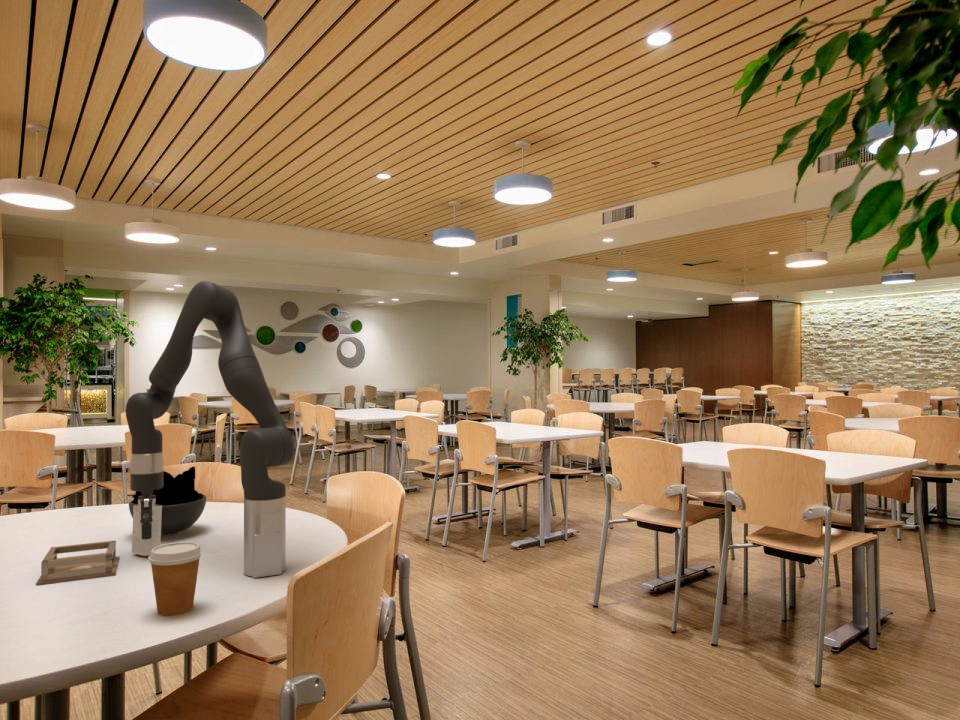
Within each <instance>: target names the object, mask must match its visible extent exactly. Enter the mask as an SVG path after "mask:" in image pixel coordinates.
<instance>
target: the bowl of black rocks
mask: <svg viewBox="0 0 960 720" xmlns="http://www.w3.org/2000/svg"><path fill="white" fill-rule="evenodd" d="M163 475H164V476H163V488H161V489H158V490H153V495H156V503H155V504H157V505H161V506H162V519H161V536H173V535H177V534H179V533H181V532H184V531H186V530H188V529H189V528H190V527H192V526H193V525H194V524H195V523H196V522H197V521H199V518H200V517H201V516H202V514H203V512H204V509H205V508H206V504H207V495H205V494H203V493H200V492H198V490H196V488H195V485H196V484H195V483H196V482H195V480H196V467H195V466H191V467H189V468H188V469H187V470H185V471H182V473H178V474H177V475H176V476H175V477H174V475H172V474H171V473H170V472H168V471H165V470H164V472H163ZM134 492H135V494H134V497H133V499H132V500H130V501H129V503H128V509H129V513H130V515H131V517H132V519H133V506H135V505H138V497H140V496H142V492H141V491H134Z"/></svg>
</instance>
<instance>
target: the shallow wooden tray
mask: <svg viewBox="0 0 960 720" xmlns="http://www.w3.org/2000/svg"><path fill="white" fill-rule="evenodd" d="M116 546H117V540H110V541H109V540H107V541H100V542H88V543H80V544H70V545H62V546H61V545H59V546H51V547H50V549H49V550H48V551H47V553H46V555H45V556H44V558H43V560H42V561H41V565H40V566H41V570H40V571H41V573H40V574H41V575H40V576H41V581H49V580H57V579H65V578H73V577H81V576H89V575H97V574H105V573H112V569H113V566H114V562H115V558H116V557H117V556H116V555H117V554H116V553H117V551H116V550H117V548H116ZM102 549H103V550H104V549H107V550H106V552H103V553H94V554H85V555H76V556H67V557H59V558H58V554H68V553H75V552H78V553H79V552H85V551H93V550H102ZM102 561H106V566H101V567H92V568H84V569H76V570H68V571H59V572H53V571H54V569H55V567H60V566H68V565H77V564H85V563H94V562H102Z"/></svg>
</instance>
